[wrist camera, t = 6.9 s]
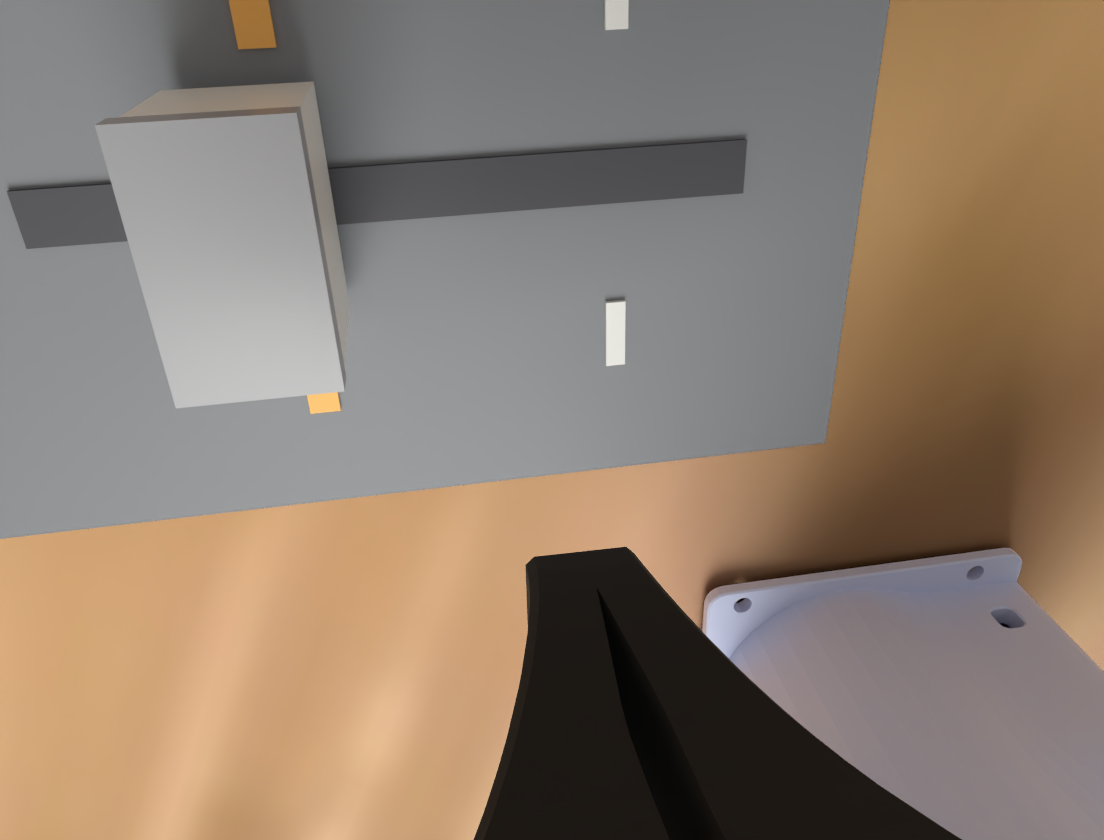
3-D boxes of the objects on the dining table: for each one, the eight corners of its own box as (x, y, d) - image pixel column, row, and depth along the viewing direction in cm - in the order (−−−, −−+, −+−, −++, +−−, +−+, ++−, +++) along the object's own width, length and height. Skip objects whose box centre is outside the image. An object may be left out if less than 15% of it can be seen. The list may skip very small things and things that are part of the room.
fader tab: (316, 78, 14) (296, 112, 11) (353, 311, 16) (344, 391, 13) (156, 87, 14) (94, 124, 11) (214, 324, 16) (175, 408, 13)
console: (868, -244, 15) (931, -269, 13) (791, 402, 22) (827, 445, 20) (-254, -229, 13) (-359, -256, 11) (33, 485, 19) (-5, 542, 18)
